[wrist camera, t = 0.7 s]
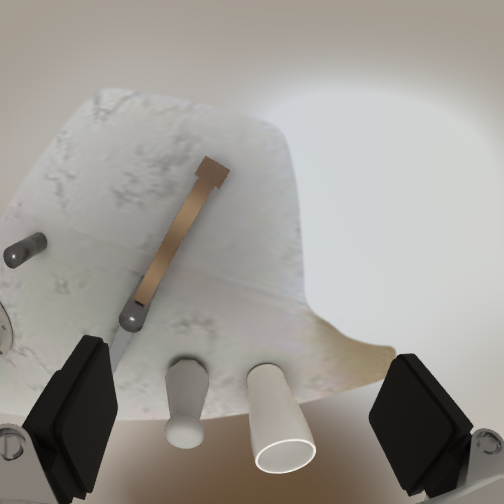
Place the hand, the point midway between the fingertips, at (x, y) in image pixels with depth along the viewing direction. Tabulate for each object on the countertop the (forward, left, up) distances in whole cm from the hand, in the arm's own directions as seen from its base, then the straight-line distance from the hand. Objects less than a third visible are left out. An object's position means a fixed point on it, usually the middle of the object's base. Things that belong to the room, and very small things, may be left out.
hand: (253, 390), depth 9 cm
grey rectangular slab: (-18, +4, -28) cm, 33 cm away
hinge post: (-11, +4, -28) cm, 30 cm away
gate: (-2, +4, -27) cm, 27 cm away
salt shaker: (-20, -6, -28) cm, 35 cm away
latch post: (-14, +19, -28) cm, 36 cm away
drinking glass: (-16, -16, -28) cm, 36 cm away
